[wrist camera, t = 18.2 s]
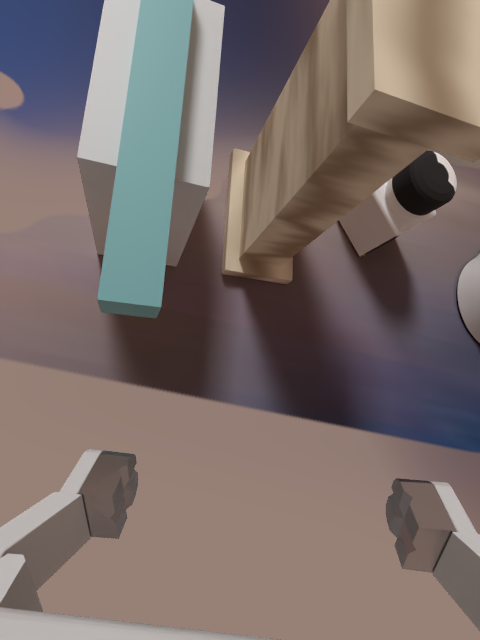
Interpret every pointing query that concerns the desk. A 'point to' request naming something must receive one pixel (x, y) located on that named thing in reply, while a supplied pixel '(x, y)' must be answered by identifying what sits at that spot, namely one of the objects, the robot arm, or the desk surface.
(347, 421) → the desk surface
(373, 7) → the birch shelf
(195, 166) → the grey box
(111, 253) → the teal rectangular bar
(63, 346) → the desk surface
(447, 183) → the medicine bottle
